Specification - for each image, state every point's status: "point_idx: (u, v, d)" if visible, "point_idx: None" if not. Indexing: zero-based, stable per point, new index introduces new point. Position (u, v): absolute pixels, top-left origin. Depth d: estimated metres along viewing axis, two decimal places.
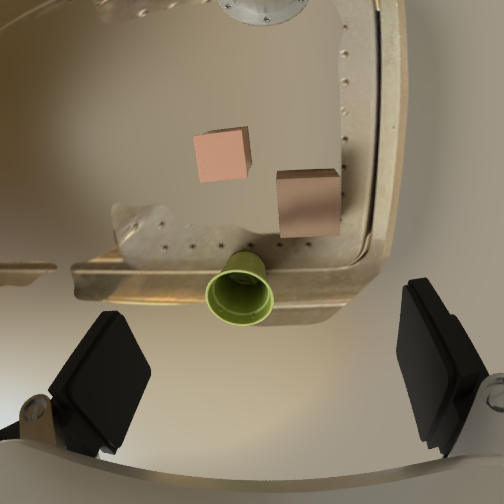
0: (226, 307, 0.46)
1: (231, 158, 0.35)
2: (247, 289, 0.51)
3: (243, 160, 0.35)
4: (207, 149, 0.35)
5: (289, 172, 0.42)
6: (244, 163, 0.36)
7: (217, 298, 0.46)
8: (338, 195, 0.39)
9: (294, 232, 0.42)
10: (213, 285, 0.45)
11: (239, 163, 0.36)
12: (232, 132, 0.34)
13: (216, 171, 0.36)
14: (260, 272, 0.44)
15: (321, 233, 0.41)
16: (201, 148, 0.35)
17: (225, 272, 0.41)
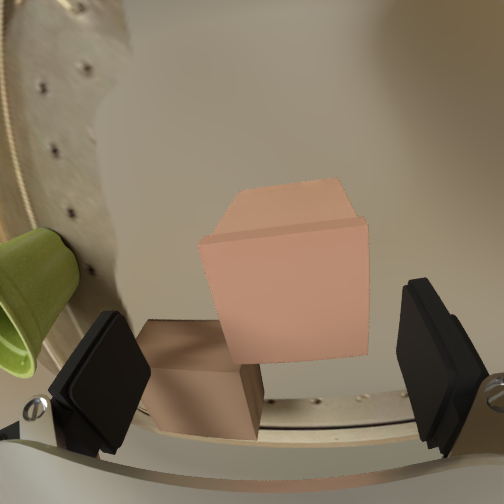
0: None
1: (287, 335, 0.12)
2: None
3: (281, 358, 0.13)
4: (317, 271, 0.11)
5: None
6: (273, 360, 0.13)
7: None
8: (224, 437, 0.21)
9: None
10: None
11: (272, 351, 0.12)
12: (364, 336, 0.12)
13: (242, 295, 0.11)
14: (46, 334, 0.17)
15: (153, 413, 0.21)
16: (321, 253, 0.10)
17: (5, 309, 0.13)
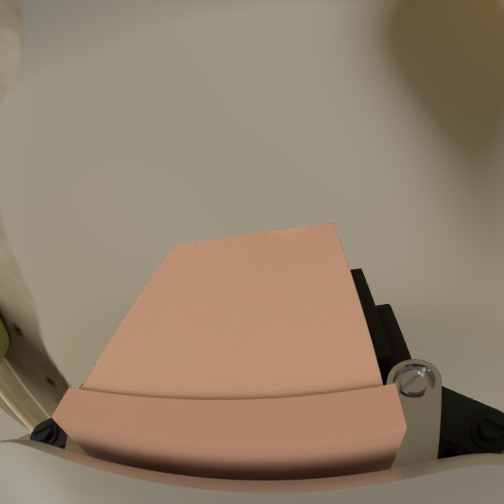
0: None
1: None
2: None
3: None
4: None
5: None
6: None
7: None
8: None
9: None
10: None
11: None
12: None
13: None
14: None
15: None
16: (289, 467, 0.04)
17: None
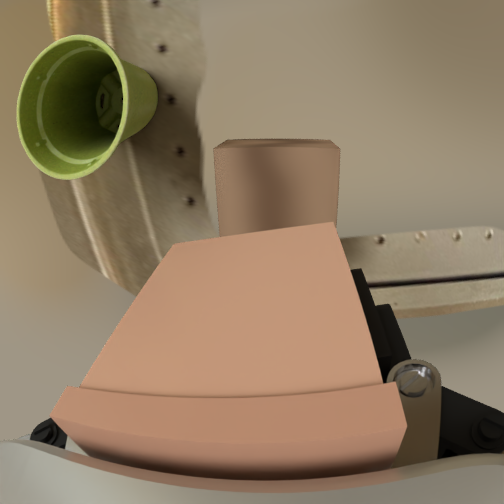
0: (46, 86, 0.16)
1: None
2: (88, 114, 0.22)
3: None
4: None
5: None
6: None
7: (61, 64, 0.16)
8: None
9: (225, 176, 0.20)
10: (86, 49, 0.15)
11: None
12: None
13: None
14: (126, 132, 0.18)
15: (224, 227, 0.22)
16: (287, 466, 0.04)
17: (117, 62, 0.14)
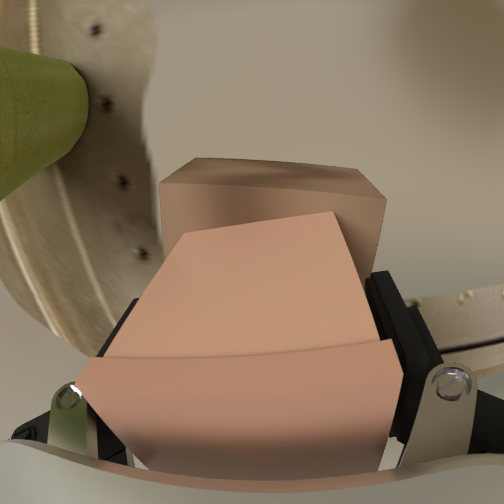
0: None
1: None
2: None
3: None
4: (291, 438, 0.05)
5: None
6: None
7: None
8: None
9: (179, 233, 0.12)
10: None
11: None
12: None
13: (165, 450, 0.06)
14: (22, 168, 0.10)
15: None
16: (298, 419, 0.05)
17: None
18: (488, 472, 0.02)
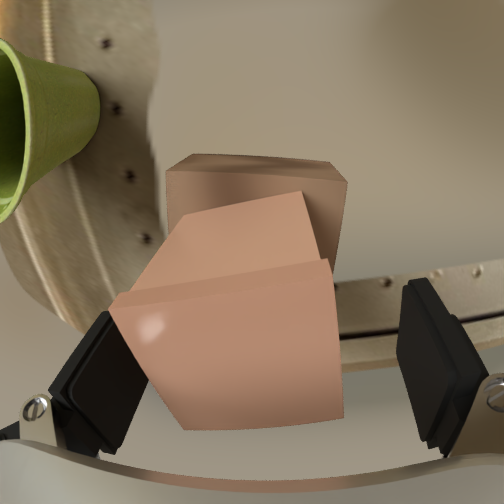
0: None
1: (239, 404, 0.09)
2: (22, 132, 0.16)
3: (237, 426, 0.10)
4: (265, 338, 0.08)
5: None
6: (228, 427, 0.10)
7: None
8: None
9: (181, 211, 0.14)
10: None
11: (225, 419, 0.09)
12: (337, 401, 0.09)
13: (174, 365, 0.08)
14: (49, 161, 0.12)
15: None
16: (267, 317, 0.07)
17: (18, 67, 0.08)
18: (488, 472, 0.02)
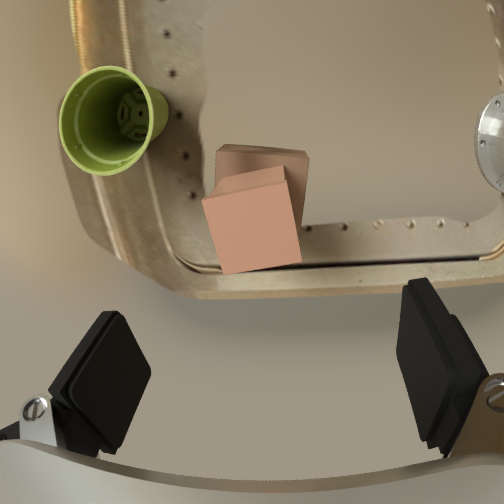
0: (82, 102, 0.23)
1: (252, 250, 0.22)
2: (111, 123, 0.29)
3: (251, 267, 0.22)
4: (263, 209, 0.21)
5: None
6: (246, 269, 0.23)
7: (95, 85, 0.22)
8: None
9: (223, 172, 0.27)
10: (116, 75, 0.22)
11: (245, 262, 0.22)
12: (297, 248, 0.22)
13: (225, 227, 0.21)
14: None
15: None
16: (264, 199, 0.20)
17: (145, 90, 0.21)
18: (488, 472, 0.02)
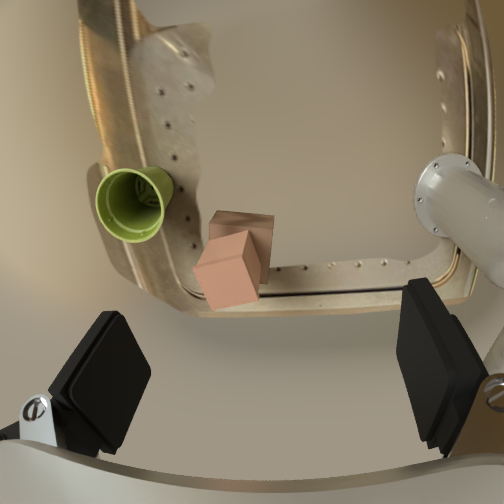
0: (111, 187, 0.36)
1: (227, 295, 0.35)
2: (131, 194, 0.42)
3: (228, 305, 0.36)
4: (230, 272, 0.34)
5: None
6: (225, 306, 0.36)
7: (118, 175, 0.36)
8: None
9: (214, 237, 0.40)
10: None
11: (224, 302, 0.36)
12: (254, 293, 0.35)
13: (209, 283, 0.35)
14: (160, 217, 0.39)
15: None
16: (229, 267, 0.33)
17: (156, 189, 0.34)
18: (488, 472, 0.02)
